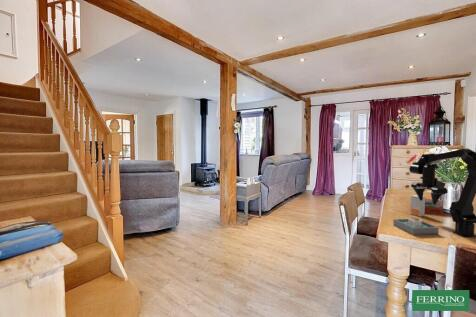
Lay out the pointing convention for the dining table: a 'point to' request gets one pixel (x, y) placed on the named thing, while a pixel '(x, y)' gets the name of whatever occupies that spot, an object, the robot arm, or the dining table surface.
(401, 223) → the box
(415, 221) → the cube with square boss
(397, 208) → the dining table surface
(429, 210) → the medicine box
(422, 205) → the skincare box
